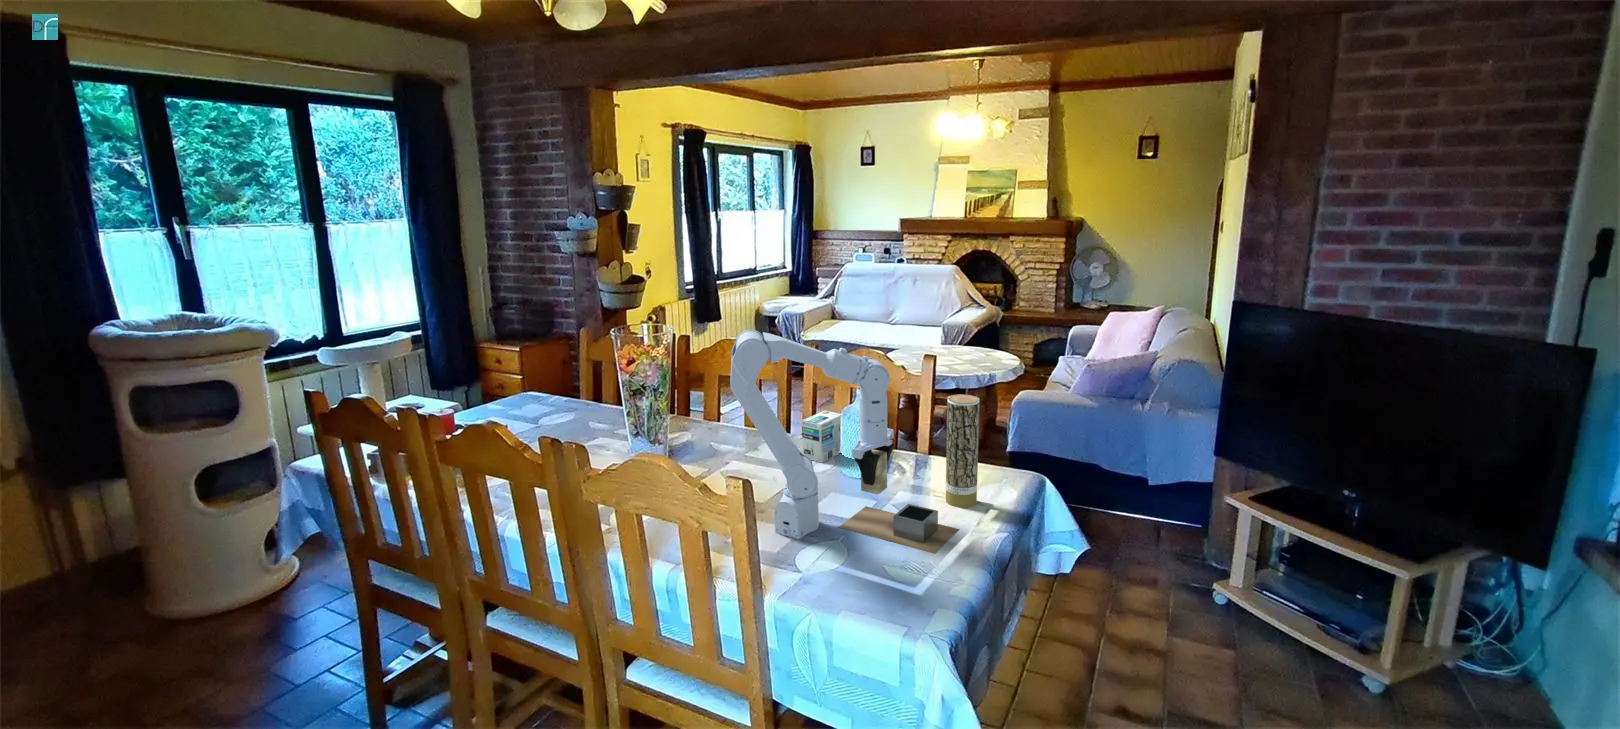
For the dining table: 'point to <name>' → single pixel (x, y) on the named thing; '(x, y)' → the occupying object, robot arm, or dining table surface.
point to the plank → (882, 528)
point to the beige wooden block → (878, 475)
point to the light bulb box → (821, 436)
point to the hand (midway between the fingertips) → (874, 480)
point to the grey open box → (915, 523)
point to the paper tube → (962, 450)
